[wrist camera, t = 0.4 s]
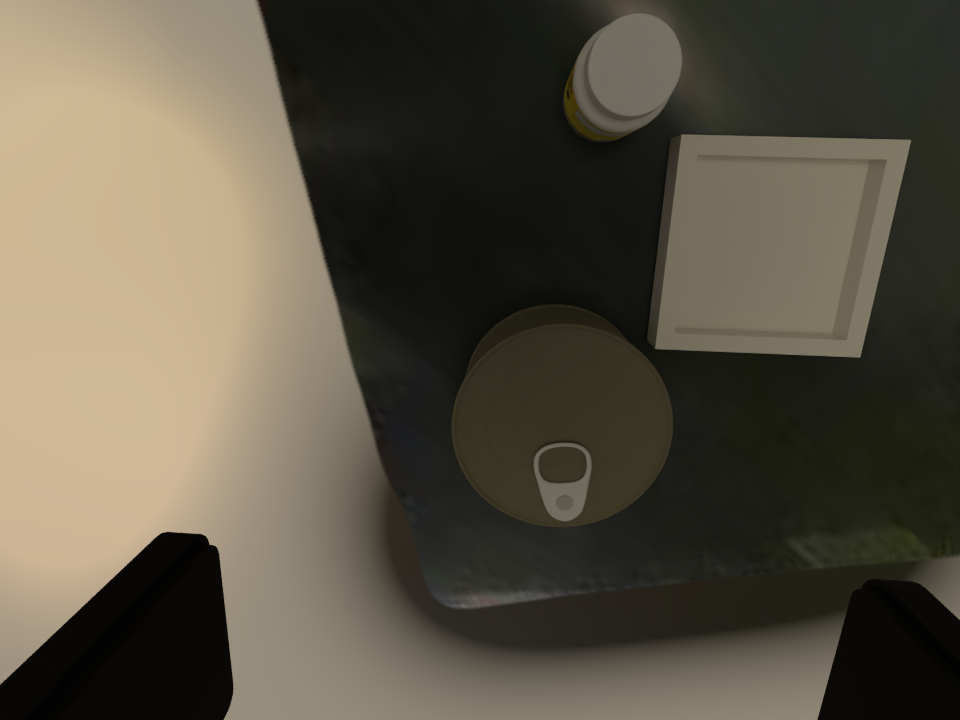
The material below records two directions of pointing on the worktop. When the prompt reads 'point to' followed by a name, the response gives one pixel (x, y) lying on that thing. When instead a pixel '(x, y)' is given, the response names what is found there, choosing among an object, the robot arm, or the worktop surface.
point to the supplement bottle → (622, 78)
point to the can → (560, 418)
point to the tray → (772, 243)
